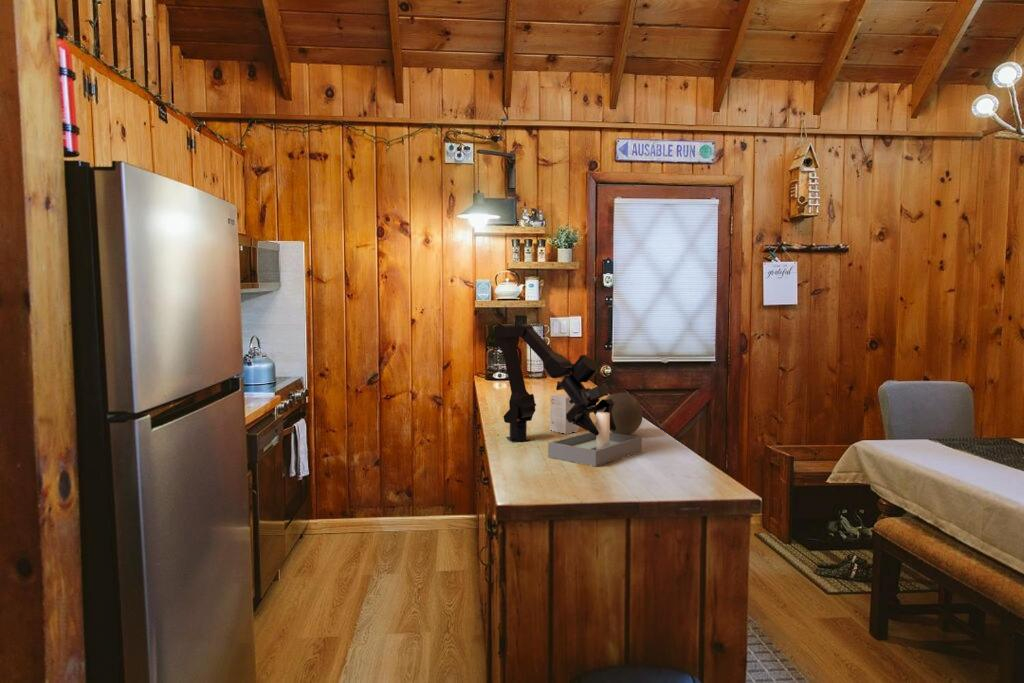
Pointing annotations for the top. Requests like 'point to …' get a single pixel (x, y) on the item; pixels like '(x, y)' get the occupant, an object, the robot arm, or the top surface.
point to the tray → (594, 448)
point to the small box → (561, 414)
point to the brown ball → (626, 413)
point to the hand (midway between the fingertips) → (606, 432)
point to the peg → (602, 429)
